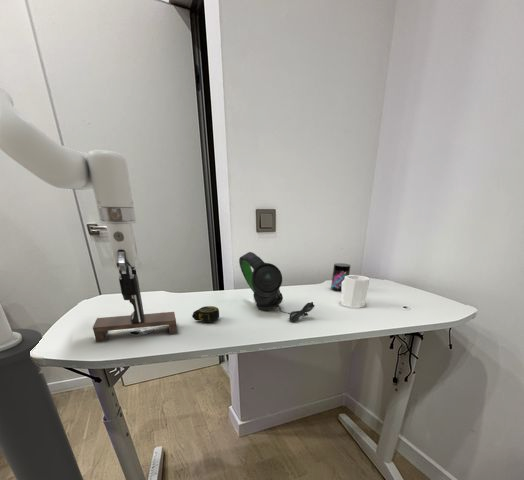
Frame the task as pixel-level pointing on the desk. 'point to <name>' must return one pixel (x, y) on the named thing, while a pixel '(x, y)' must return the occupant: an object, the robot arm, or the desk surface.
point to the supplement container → (339, 275)
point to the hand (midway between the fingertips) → (130, 289)
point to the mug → (354, 291)
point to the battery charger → (136, 303)
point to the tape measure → (206, 314)
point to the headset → (266, 284)
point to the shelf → (133, 323)
